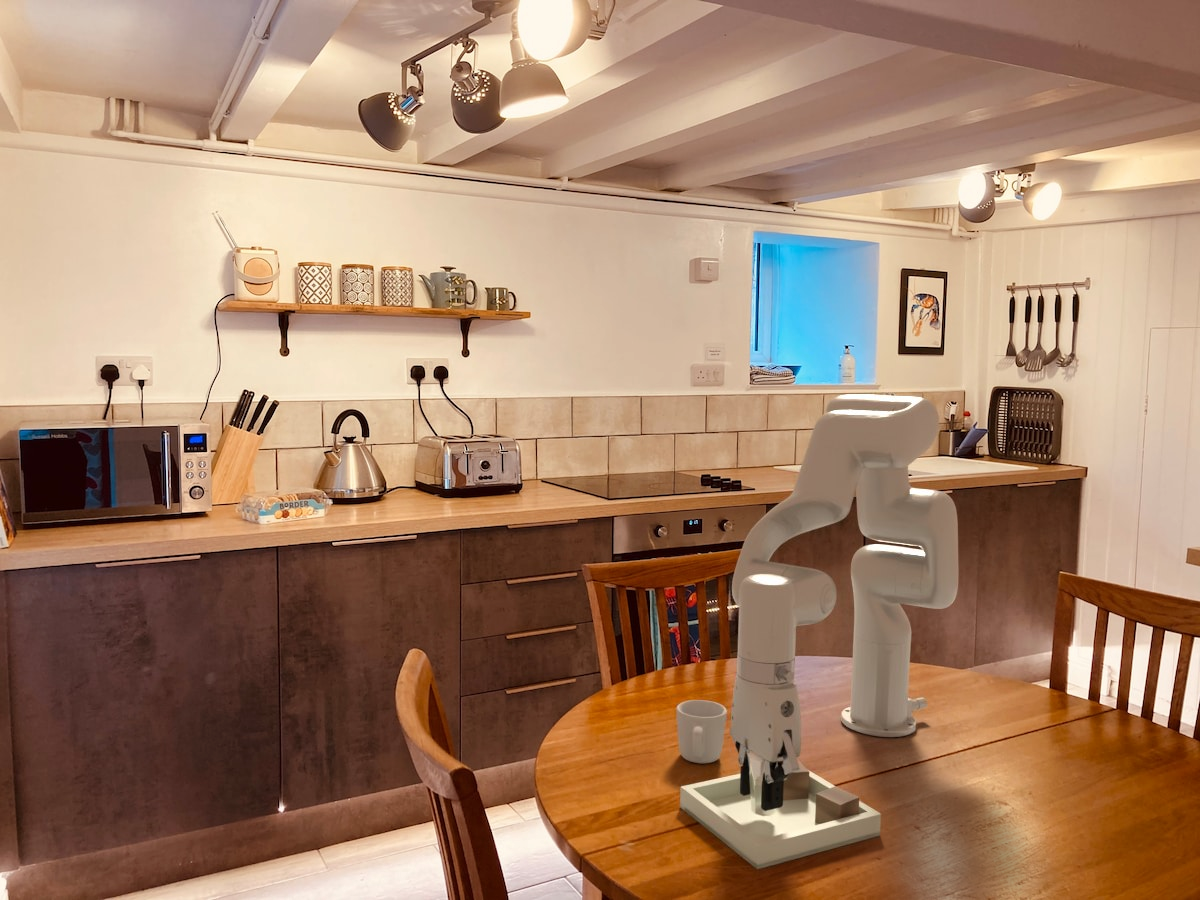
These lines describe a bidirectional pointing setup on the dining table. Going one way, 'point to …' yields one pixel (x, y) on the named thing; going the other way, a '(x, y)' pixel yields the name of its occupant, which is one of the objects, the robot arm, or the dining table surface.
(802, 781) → the walnut block
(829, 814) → the walnut block
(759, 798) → the milkshake
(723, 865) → the dining table surface
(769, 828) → the tray
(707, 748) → the cup
